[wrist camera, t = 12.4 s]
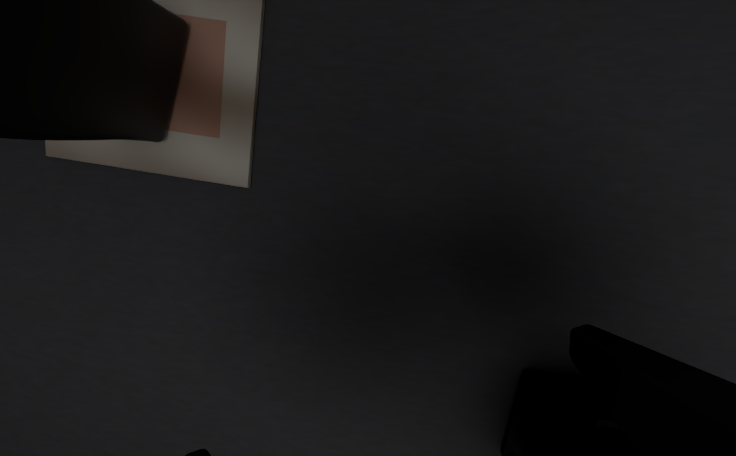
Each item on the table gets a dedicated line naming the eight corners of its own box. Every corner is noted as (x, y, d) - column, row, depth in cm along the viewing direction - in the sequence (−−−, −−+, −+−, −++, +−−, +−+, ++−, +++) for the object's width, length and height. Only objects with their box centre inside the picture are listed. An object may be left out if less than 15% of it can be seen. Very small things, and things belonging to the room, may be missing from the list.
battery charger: (125, -6, 19) (-270, -243, 8) (194, 19, 19) (-99, -181, 8) (102, 125, 20) (-258, 90, 9) (166, 148, 20) (-113, 141, 9)
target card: (250, 187, 21) (247, 187, 20) (52, 155, 21) (45, 155, 21) (267, -24, 18) (264, -28, 18) (44, -55, 19) (37, -60, 18)
